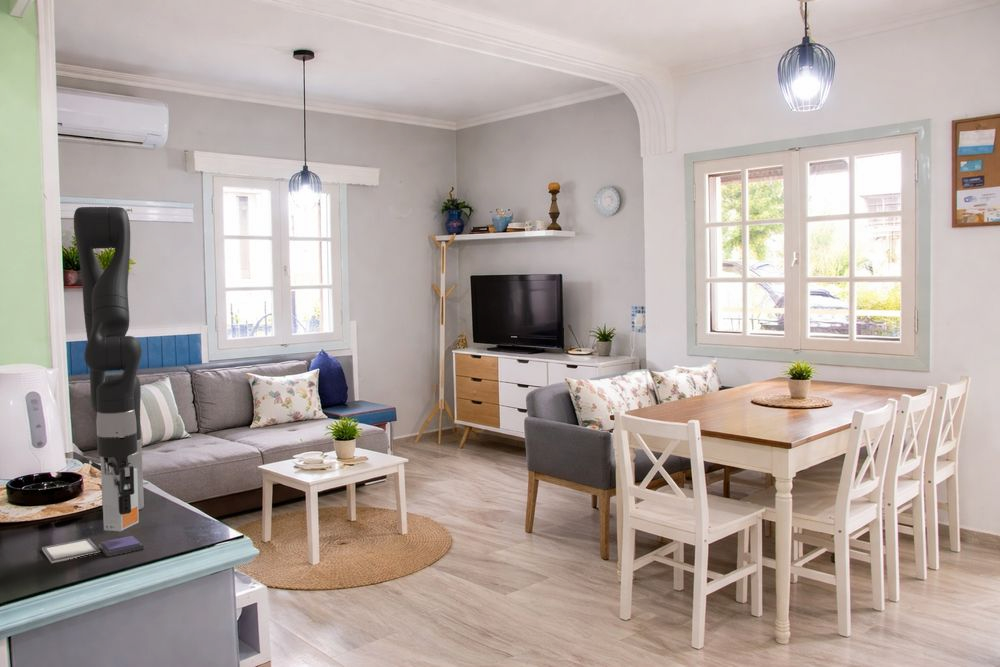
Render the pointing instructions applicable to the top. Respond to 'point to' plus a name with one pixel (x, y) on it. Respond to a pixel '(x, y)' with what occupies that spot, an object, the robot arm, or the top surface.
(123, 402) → the robot arm
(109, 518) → the skincare box
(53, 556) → the framed whiteboard
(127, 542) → the ink pad
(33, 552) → the top surface
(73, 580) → the top surface
